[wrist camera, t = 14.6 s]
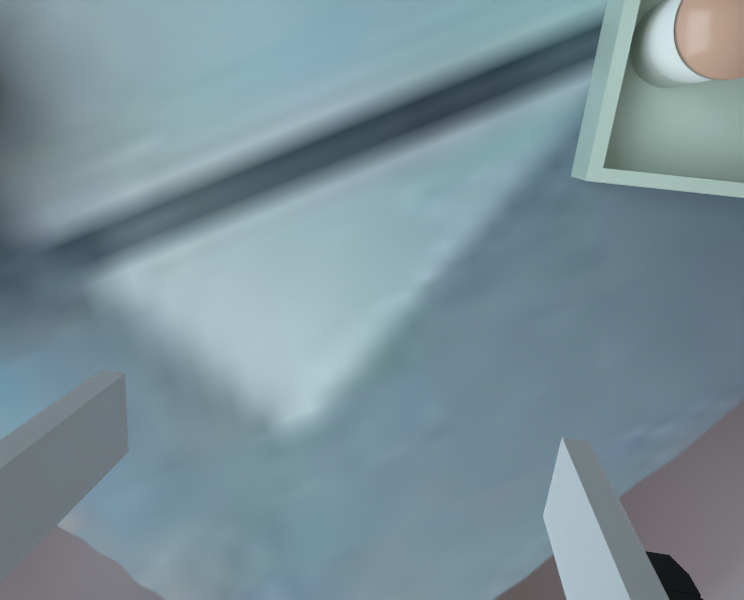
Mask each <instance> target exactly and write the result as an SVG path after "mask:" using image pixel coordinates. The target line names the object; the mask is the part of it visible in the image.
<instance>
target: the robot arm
mask: <svg viewBox="0 0 744 600" xmlns="http://www.w3.org/2000/svg"><path fill="white" fill-rule="evenodd" d="M128 451H129V449H128V427H127V406H126V385H125V373H119V372H112V371H105V370H100V371H99V372H98V373H96V374H95V375H93V376H92V377H90V378H89V379H88V380H86V381H85V382H83V383H82V384H80V385H79V386H78V387H76V388H75V389H73V390H72V391H70V392H69V393H68V394H66V395H65V396H63V397H62V398H60V399H59V400H57V401H56V402H55V403H53V404H52V405H50V406H49V407H47V408H46V409H45V410H43V411H42V412H40V413H39V414H37V415H36V416H35V417H33V418H32V419H30V420H29V421H27V422H26V423H25V424H23V425H22V426H20V427H19V428H17V429H16V430H14V431H13V432H12V433H10V434H9V435H7V436H6V437H4V438H3V439H2V440H0V583H1V582H2V581H3V579H4V578H5V577H6V576H7V575H8V574H9V573H10V572H11V571H12V570H13V569H14V568H15V567H16V566H17V565H18V564H19V563H20V562H21V561H22V560H23V559H24V558H25V557H26V556H27V555H28V554H29V553H30V551H32V550H33V549H34V548H35V547H36V546H37V545H38V544H39V543H40V541H42V540H43V538H44V537H45V536H46V535H47V534H48V533H49V532H50V531H51V530H52V529H53V528H54V527H55V526H56V525H57V524H58V523H59V522H60V521H61V520H62V519H63V518H64V517H65V516H66V515H67V514H68V513H69V512H70V511H71V510H72V509H73V508H74V507H75V506H76V505H77V504H78V503H79V502H80V501H81V500H82V499H83V498H84V496H85V495H86V494H87V493H88V492H89V491H90V490H91V489H92V488H93V487H94V486H95V485H96V484H97V483H98V482H99V481H100V480H101V479H102V478H103V477H104V476H105V475H106V474H107V473H108V472H109V471H110V470H111V469H112V468H113V467H114V466H115V465H116V464H117V463H118V462H119V461H120V460H121V459H122V458H123V457H124V455H125V454H126V453H127V452H128ZM543 518H544V521H545V525H546V528H547V532H548V535H549V539H550V542H551V546H552V550H553V553H554V557H555V560H556V564H557V567H558V571H559V574H560V578H561V581H562V585H563V588H564V592H565V596H566V599H567V600H703V599H701V597H700V596H701V595H700V593H699V591H698V590H697V588H696V586H695V584H694V583H693V581H692V579H691V577H690V576H689V574H688V573H687V572H686V571H685V570H684V569H683V568H681V566H680V565H679V564H678V563H677V562H676V561H675V560H673V558H672V557H671V556H670V555H665V554H659V553H652V552H646V551H645V550H644V548H643V546H642V544H641V542H640V540H639V539H638V537H637V535H636V532H635V531H634V529H633V526H632V524H631V523H630V521H629V519H628V517H627V515H626V513H625V511H624V509H623V507H622V505H621V503H620V501H619V499H618V497H617V495H616V493H615V491H614V489H613V487H612V485H611V483H610V481H609V479H608V477H607V475H606V473H605V471H604V469H603V467H602V465H601V463H600V461H599V459H598V457H597V455H596V453H595V451H594V449H593V447H592V445H591V443H590V441H586V440H579V439H572V438H566V437H562V439H561V443H560V448H559V452H558V456H557V460H556V465H555V469H554V473H553V477H552V481H551V486H550V490H549V494H548V498H547V503H546V507H545V511H544V515H543Z"/></svg>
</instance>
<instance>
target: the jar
mask: <svg viewBox="0 0 744 600" xmlns="http://www.w3.org/2000/svg"><path fill="white" fill-rule="evenodd" d="M630 58H631V62H632V65H633V68H634V70H635V71H636V73H637V74H638V76H639V77H640V78H641V79H642V80H643V81H645V82H646V83H648V84H650V85H652V86H655V87H658V88H676V87H680V86H685V85H690V84H695V83H700V82H705V81H710V80H732V79H737V78H742V77H744V0H664V1H662V2H660V3H659V4H657V5H656V6H654V7H653V8H651V9H650V10H649V11H648V12H647V13H646V14H645V15H644V16H643V17H642V18H641V20H640V21H639V23H638V24H637V26H636V28H635V30H634V33H633V36H632V41H631V45H630Z"/></svg>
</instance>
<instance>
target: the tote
mask: <svg viewBox="0 0 744 600" xmlns="http://www.w3.org/2000/svg"><path fill="white" fill-rule="evenodd" d="M662 1H664V0H607V4H606V8H605V13H604V18H603V23H602V28H601V33H600V37H599V42H598V47H597V52H596V57H595V62H594V66H593V71H592V76H591V81H590V86H589V91H588V95H587V100H586V105H585V110H584V115H583V120H582V124H581V129H580V134H579V139H578V144H577V148H576V153H575V158H574V163H573V168H572V173H571V177H575V178H578V179H581V180H585V181H592V182H602V183H611V184H620V185H630V186H639V187H648V188H657V189H667V190H676V191H685V192H695V193H704V194H713V195H722V196H732V197H741V198H744V77H742V78H737V79H732V80H710V81H705V82H700V83H695V84H690V85H685V86H680V87H676V88H658V87H655V86H652V85H650V84H648V83H646V82H645V81H643V80H642V79H641V78H640V77H639V76H638V74H637V73H636V71H635V70H634V68H633V65H632V62H631V58H630V45H631V41H632V36H633V33H634V30H635V28H636V26H637V24H638V23H639V21H640V20H641V18H642V17H643V16H644V15H645V14H646V13H647V12H648V11H649V10H650V9H651V8H653V7H654V6H656V5H657V4H659V3H660V2H662Z"/></svg>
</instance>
